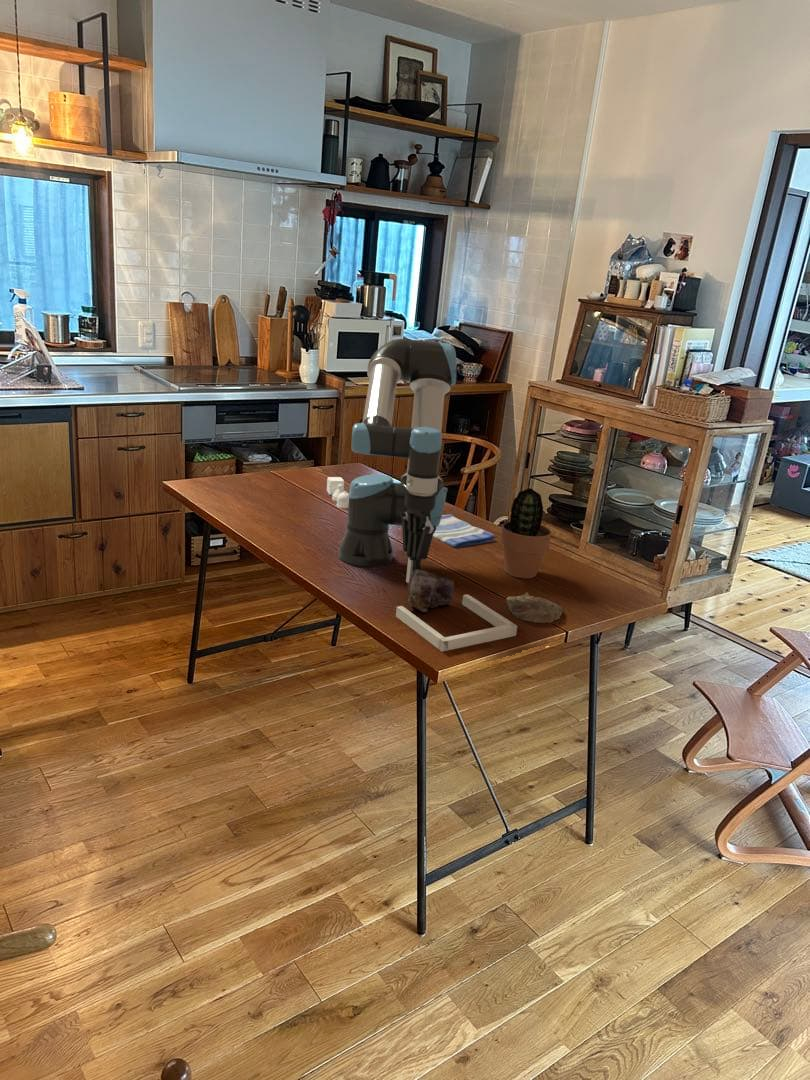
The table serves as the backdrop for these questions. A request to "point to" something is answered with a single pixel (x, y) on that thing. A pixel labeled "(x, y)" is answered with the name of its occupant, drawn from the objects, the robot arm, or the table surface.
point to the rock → (429, 590)
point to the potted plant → (525, 536)
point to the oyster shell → (534, 609)
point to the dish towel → (460, 533)
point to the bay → (467, 639)
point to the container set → (338, 491)
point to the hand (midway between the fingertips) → (412, 581)
